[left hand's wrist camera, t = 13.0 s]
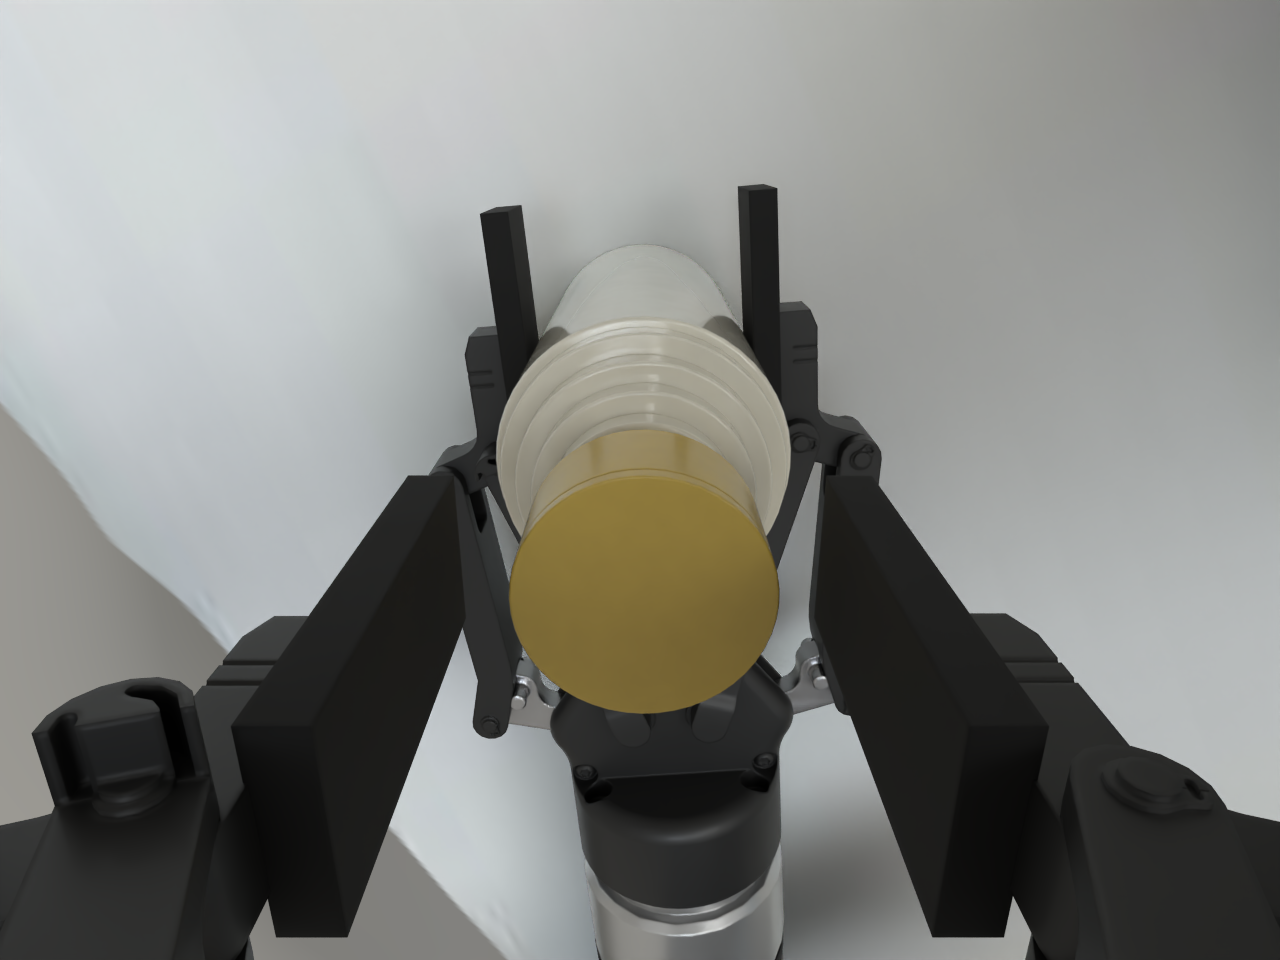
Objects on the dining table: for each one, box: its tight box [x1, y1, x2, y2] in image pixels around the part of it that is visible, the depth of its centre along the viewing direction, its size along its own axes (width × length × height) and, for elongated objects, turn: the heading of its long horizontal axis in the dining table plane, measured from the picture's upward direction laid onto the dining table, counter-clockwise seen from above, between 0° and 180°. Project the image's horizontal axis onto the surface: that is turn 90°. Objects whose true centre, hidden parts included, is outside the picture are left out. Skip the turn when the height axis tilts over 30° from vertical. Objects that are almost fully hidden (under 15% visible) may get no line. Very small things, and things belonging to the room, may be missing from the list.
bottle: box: [496, 244, 791, 537], centre depth 22 cm, size 6×6×19 cm
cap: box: [509, 429, 779, 714], centre depth 14 cm, size 4×4×2 cm
